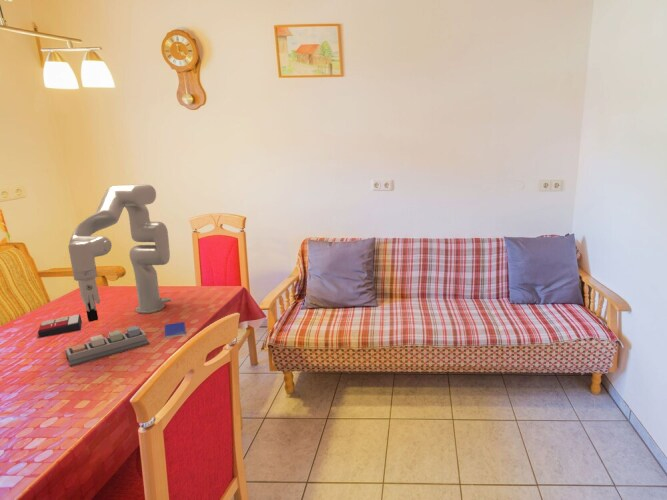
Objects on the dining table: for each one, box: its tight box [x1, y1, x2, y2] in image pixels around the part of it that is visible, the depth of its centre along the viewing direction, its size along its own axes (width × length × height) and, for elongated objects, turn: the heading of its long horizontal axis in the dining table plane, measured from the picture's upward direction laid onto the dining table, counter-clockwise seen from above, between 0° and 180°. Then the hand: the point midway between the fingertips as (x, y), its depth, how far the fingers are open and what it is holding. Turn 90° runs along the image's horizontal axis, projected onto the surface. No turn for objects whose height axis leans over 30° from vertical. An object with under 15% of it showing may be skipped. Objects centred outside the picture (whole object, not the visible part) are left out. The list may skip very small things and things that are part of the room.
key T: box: [125, 324, 141, 337], centre depth 172 cm, size 4×4×2 cm
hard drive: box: [164, 321, 187, 339], centre depth 182 cm, size 2×8×12 cm
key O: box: [89, 334, 105, 347], centre depth 164 cm, size 4×4×2 cm
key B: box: [70, 343, 86, 353], centre depth 161 cm, size 4×4×2 cm
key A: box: [108, 329, 123, 342], centre depth 168 cm, size 4×4×2 cm
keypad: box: [64, 328, 150, 367], centre depth 167 cm, size 27×14×3 cm, turn 128°
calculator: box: [37, 314, 83, 338], centre depth 186 cm, size 11×4×15 cm
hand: (93, 320), depth 162 cm, fingers closed
